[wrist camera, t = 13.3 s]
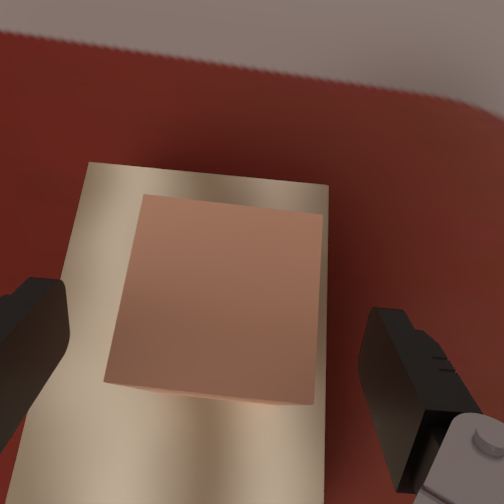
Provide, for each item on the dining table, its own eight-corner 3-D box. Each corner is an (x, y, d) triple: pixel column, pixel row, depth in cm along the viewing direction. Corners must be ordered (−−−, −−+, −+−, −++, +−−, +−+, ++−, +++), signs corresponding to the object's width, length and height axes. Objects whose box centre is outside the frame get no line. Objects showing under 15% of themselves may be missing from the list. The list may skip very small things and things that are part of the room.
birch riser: (50, 508, 20) (-4, 539, 15) (114, 206, 26) (89, 162, 21) (300, 527, 20) (322, 563, 16) (310, 225, 26) (328, 185, 21)
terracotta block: (156, 392, 17) (103, 382, 10) (176, 277, 19) (143, 193, 12) (276, 405, 17) (314, 405, 10) (285, 289, 19) (322, 214, 12)
